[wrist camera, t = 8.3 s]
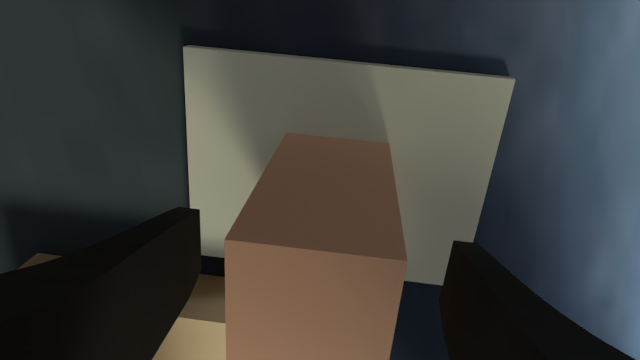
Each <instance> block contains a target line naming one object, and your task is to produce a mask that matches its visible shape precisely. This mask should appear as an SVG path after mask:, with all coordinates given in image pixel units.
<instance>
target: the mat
mask: <svg viewBox="0 0 640 360" xmlns="http://www.w3.org/2000/svg"><path fill="white" fill-rule="evenodd" d="M183 59H184V82H185V104H186V127H187V150H188V173H189V196H190V208H192V209H200V233H201V255H205V256H213V257H221V258H225V250H224V239H225V238H226V236H227V234H228V232H229V231H230V229H231V227H232V225H233V224H234V222H235V220H236V218H237V217H238V215H239V213H240V212H241V210H242V208H243V206H244V205H245V203H246V201H247V199H248V198H249V196H250V194H251V193H252V191H253V189H254V187H255V186H256V184H257V182H258V180H259V179H260V177H261V175H262V173H263V172H264V170H265V168H266V167H267V165H268V163H269V161H270V160H271V158H272V156H273V154H274V153H275V151H276V149H277V148H278V146H279V144H280V142H281V141H282V139H283V137H284V135H285V134H286V133H294V134H303V135H313V136H323V137H332V138H342V139H352V140H361V141H371V142H381V143H389V145H390V151H391V158H392V164H393V171H394V177H395V183H396V190H397V196H398V203H399V209H400V216H401V222H402V228H403V235H404V241H405V248H406V254H407V261H408V262H407V267H406V273H405V278H404V281H411V282H419V283H427V284H435V285H443V282H444V278H445V274H446V269H447V265H448V261H449V257H450V253H451V248H452V244H453V240H456V241H464V242H473V241H474V237H475V233H476V230H477V226H478V222H479V218H480V214H481V210H482V207H483V203H484V199H485V195H486V191H487V187H488V184H489V180H490V176H491V172H492V168H493V164H494V161H495V157H496V153H497V149H498V145H499V141H500V138H501V134H502V130H503V126H504V122H505V118H506V115H507V111H508V107H509V103H510V99H511V95H512V92H513V88H514V84H515V80H516V79H514V78H512V77H509V76H499V75H489V74H479V73H469V72H458V71H448V70H438V69H428V68H418V67H407V66H397V65H387V64H377V63H367V62H356V61H346V60H336V59H326V58H316V57H305V56H295V55H285V54H275V53H265V52H254V51H244V50H234V49H224V48H214V47H203V46H193V45H188V46H184V47H183Z"/></svg>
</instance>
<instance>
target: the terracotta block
mask: <svg viewBox="0 0 640 360" xmlns="http://www.w3.org/2000/svg"><path fill="white" fill-rule="evenodd" d="M224 250H225V318H226V360H389V358H390V353H391V347H392V342H393V337H394V331H395V326H396V321H397V315H398V310H399V305H400V299H401V294H402V289H403V283H404V278H405V273H406V267H407V262H408V261H407V254H406V248H405V241H404V235H403V228H402V222H401V216H400V209H399V203H398V196H397V190H396V183H395V177H394V171H393V164H392V158H391V151H390V145H389V143H381V142H371V141H361V140H352V139H342V138H332V137H323V136H313V135H303V134H294V133H286V134H285V135H284V137H283V139H282V141H281V142H280V144H279V146H278V148H277V149H276V151H275V153H274V154H273V156H272V158H271V160H270V161H269V163H268V165H267V167H266V168H265V170H264V172H263V173H262V175H261V177H260V179H259V180H258V182H257V184H256V186H255V187H254V189H253V191H252V193H251V194H250V196H249V198H248V199H247V201H246V203H245V205H244V206H243V208H242V210H241V212H240V213H239V215H238V217H237V218H236V220H235V222H234V224H233V225H232V227H231V229H230V231H229V232H228V234H227V236H226V238H225V239H224Z"/></svg>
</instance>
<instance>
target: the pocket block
mask: <svg viewBox="0 0 640 360" xmlns="http://www.w3.org/2000/svg"><path fill="white" fill-rule="evenodd" d="M59 257H62V256H58V255H50V254H42V253H37V254H36V255H34V256H33V257H32V258H31V259H29V260H28V261H27V262H26V263H24V264H23V265H22V266H20V267H19V268H18V269H21V268H25V267H29V266H32V265H36V264H40V263H43V262H47V261H50V260H53V259H56V258H59ZM152 360H226V318H225V277H221V276H213V275H205V274H199V277H198V279H197V282H196V284H195V287H194V289H193V291H192V293H191V296H190V298H189V300H188V301H187V303H186V305H185V306H184V308H183V310H182V311H181V313H180V315H179V316H178V318H177V320H176V321H175V323H174V325H173V326H172V328H171V330H170V331H169V333H168V334H167V336H166V338H165V339H164V341H163V343H162V344H161V346H160V347H159V349H158V351H157V352H156V354H155V356H154V357H153V359H152Z"/></svg>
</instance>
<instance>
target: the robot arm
mask: <svg viewBox="0 0 640 360" xmlns="http://www.w3.org/2000/svg"><path fill="white" fill-rule="evenodd" d="M201 270H202V264H201V233H200V209H192V208H184V207H178V208H175V209H172V210H170V211H167V212H165V213H163V214H161V215H159V216H156V217H154V218H152V219H150V220H148V221H146V222H144V223H142V224H139V225H137V226H135V227H133V228H131V229H129V230H127V231H125V232H122V233H120V234H118V235H115V236H113V237H111V238H108V239H106V240H104V241H101V242H99V243H97V244H94V245H92V246H90V247H87V248H84V249H82V250H79V251H76V252H74V253H71V254H68V255H65V256H62V257H59V258H56V259H53V260H50V261H47V262H43V263H40V264H36V265H32V266H29V267H25V268H21V269H17V270H14V271H10V272H6V273H2V274H0V360H152V359H153V357H154V356H155V354H156V352H157V351H158V349H159V347H160V346H161V344H162V343H163V341H164V339H165V338H166V336H167V334H168V333H169V331H170V330H171V328H172V326H173V325H174V323H175V321H176V320H177V318H178V316H179V315H180V313H181V311H182V310H183V308H184V306H185V305H186V303H187V301H188V300H189V298H190V296H191V293H192V291H193V289H194V287H195V284H196V282H197V279H198V277H199V274H200V272H201ZM439 302H440V312H441V321H442V328H443V334H444V338H445V342H446V346H447V350H448V354H449V358H450V360H635V359H633V358H632V357H630V356H628V355H626V354H625V353H623V352H621V351H619V350H618V349H616V348H614V347H612V346H611V345H609V344H607V343H605V342H604V341H602V340H601V339H599V338H597V337H596V336H594V335H592V334H591V333H589V332H588V331H586V330H585V329H583V328H582V327H580V326H579V325H577V324H576V323H574V322H573V321H571V320H570V319H568V318H567V317H565V316H564V315H563V314H561V313H560V312H558V311H557V310H556V309H554V308H553V307H552V306H551V305H549V304H548V303H547V302H545V301H544V300H543V299H542V298H540V297H539V296H538V295H536V294H535V293H534V292H533V291H531V290H530V289H529V288H528V287H527V286H525V285H524V284H523V283H522V282H521V281H520V280H518V279H517V278H516V277H515V276H514V275H513V274H511V273H510V272H509V271H508V270H507V269H506V268H505V267H504V266H502V265H501V264H500V263H499V262H498V261H497V260H496V259H495V258H493V257H492V256H491V255H490V254H489V253H488V252H487V251H485V250H484V249H483V248H482V247H481V246H479V245H478V244H477V243H473V242H464V241H456V240H453V244H452V248H451V253H450V257H449V261H448V265H447V269H446V274H445V278H444V282H443V286H442V290H441V295H440V299H439Z"/></svg>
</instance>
